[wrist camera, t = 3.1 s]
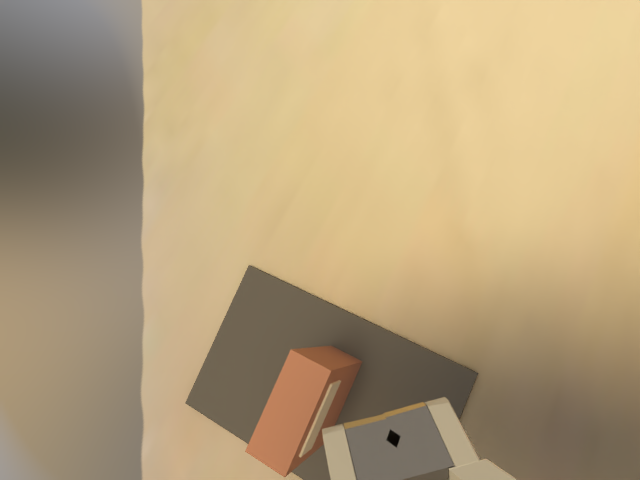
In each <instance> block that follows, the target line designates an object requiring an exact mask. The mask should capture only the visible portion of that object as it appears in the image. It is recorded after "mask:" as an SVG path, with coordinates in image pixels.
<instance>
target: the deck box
mask: <svg viewBox="0 0 640 480" xmlns="http://www.w3.org/2000/svg"><path fill="white" fill-rule="evenodd" d="M362 362H363V361H361V360H359V359H357V358H355V357H353V356H351V355H349V354H347V353H345V352H343V351H341V350H339V349H337V348H335V347H333V346H321V347H310V348H300V349H291V350H290V352H289V354H288V357H287V359H286V361H285V363H284V366H283V368H282V370H281V372H280V375H279V377H278V379H277V381H276V384H275V386H274V388H273V390H272V393H271V395H270V397H269V399H268V402H267V404H266V406H265V408H264V410H263V413H262V415H261V417H260V419H259V422H258V424H257V426H256V428H255V431H254V433H253V435H252V437H251V440H250V442H249V444H248V446H247V449H246V451H245V452H247V453H248V454H250V455H252V456H253V457H255V458H256V459H258V460H259V461H261V462H262V463H264V464H265V465H267V466H268V467H270V468H271V469H273V470H274V471H276V472H277V473H279V474H280V475H282V476H283V477H286V476H287V475H288V474H289V473H290V472H292V471H293V470H294V469H295V468H296V467H298V466H299V465H300V464H301V463H302V462H303V461H305V460H306V459H307V458H308V457H309V456H310V455H312V454H313V453H314V452H315V451H316V450H317V449H319V448H320V447H321V446H322V445H323V444H324V441H323V435H322V429H324V428H328V427H331V426H335V424H336V422H337V419H338V417H339V415H340V412H341V410H342V408H343V406H344V403H345V401H346V399H347V396H348V394H349V392H350V389H351V387H352V385H353V382H354V380H355V378H356V375H357V373H358V371H359V369H360V366H361V364H362Z"/></svg>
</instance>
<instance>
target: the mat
mask: <svg viewBox="0 0 640 480" xmlns="http://www.w3.org/2000/svg"><path fill="white" fill-rule="evenodd" d="M321 346H333V347H335V348H337V349H339V350H341V351H343V352H345V353H347V354H349V355H351V356H353V357H355V358H357V359H359V360H361V361H363V362H362V364H361V366H360V369H359V371H358V373H357V375H356V378H355V380H354V382H353V385H352V387H351V389H350V392H349V394H348V396H347V399H346V401H345V403H344V406H343V408H342V410H341V412H340V415H339V417H338V419H337V422H336V424H335V425H339V424H343V426H344V423H348V422H352V421H356V420H360V419H364V418H369V417H373V416H377V415H381V414H384V413H385V412H389V411H393V410H396V409H400V408H403V407H407V406H410V405H414V404H418V403H421V402H428V401H431V400H435V399H438V398H442V397H445V398H447V399H448V400H449V402H450V404H451V406H452V408H453V410H454V412H455V413H456V415H457V417H458V419H460V416H461V414H462V411H463V409H464V406H465V404H466V402H467V399H468V397H469V394H470V392H471V389H472V387H473V385H474V382H475V380H476V377H477V375H478V373H476V372H474V371H472V370H470V369H468V368H466V367H464V366H462V365H460V364H457V363H455V362H453V361H451V360H449V359H447V358H445V357H443V356H440V355H438V354H436V353H434V352H432V351H430V350H428V349H426V348H423V347H421V346H419V345H417V344H415V343H413V342H411V341H409V340H407V339H404V338H402V337H400V336H398V335H396V334H394V333H392V332H390V331H387V330H385V329H383V328H381V327H379V326H377V325H375V324H373V323H371V322H368V321H366V320H364V319H362V318H360V317H358V316H356V315H354V314H351V313H349V312H347V311H345V310H343V309H341V308H339V307H337V306H334V305H332V304H330V303H328V302H326V301H324V300H322V299H320V298H318V297H315V296H313V295H311V294H309V293H307V292H305V291H303V290H301V289H298V288H296V287H294V286H292V285H290V284H288V283H286V282H284V281H282V280H279V279H277V278H275V277H273V276H271V275H269V274H267V273H265V272H262V271H260V270H258V269H256V268H254V267H252V266H248V268H247V270H246V273H245V275H244V277H243V279H242V281H241V283H240V286H239V288H238V290H237V292H236V294H235V297H234V299H233V301H232V303H231V305H230V307H229V310H228V312H227V314H226V316H225V318H224V320H223V323H222V325H221V327H220V329H219V331H218V333H217V336H216V338H215V340H214V342H213V344H212V346H211V349H210V351H209V353H208V355H207V357H206V359H205V362H204V364H203V366H202V368H201V370H200V373H199V375H198V377H197V379H196V381H195V383H194V386H193V388H192V390H191V392H190V394H189V396H188V399H187V401H186V404H188V405H189V406H191V407H192V408H194V409H195V410H197V411H198V412H200V413H201V414H203V415H205V416H206V417H208V418H209V419H211V420H212V421H214V422H215V423H217V424H218V425H220V426H222V427H223V428H225V429H226V430H228V431H229V432H231V433H232V434H234V435H235V436H237V437H239V438H240V439H242V440H243V441H245V442H246V443H248V444H249V442H250V440H251V437H252V435H253V433H254V431H255V428H256V426H257V424H258V422H259V419H260V417H261V415H262V413H263V410H264V408H265V406H266V404H267V402H268V399H269V397H270V395H271V393H272V390H273V388H274V386H275V384H276V381H277V379H278V377H279V375H280V372H281V370H282V368H283V366H284V363H285V361H286V359H287V357H288V354H289V352H290V350H291V349H300V348H310V347H321ZM344 430H345V428H344ZM345 434H346V433H345ZM346 438H347V437H346ZM347 442H348V441H347ZM348 446H349V445H348ZM349 450H350V449H349ZM350 454H351V453H350ZM292 472H293V473H294V474H296V475H297V476H299V477H300V478H302V479H303V480H331V479H330V473H329V468H328V463H327V457H326V452H325V447H324V444H323V445H322V446H321V447H320V448H319V449H317V450H316V451H315V452H314V453H313V454H312V455H310V456H309V457H308V458H307V459H306V460H305V461H303V462H302V463H301V464H300V465H299V466H298V467H296V468H295V469H294V470H293V471H292Z"/></svg>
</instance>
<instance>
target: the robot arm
mask: <svg viewBox="0 0 640 480" xmlns="http://www.w3.org/2000/svg"><path fill="white" fill-rule="evenodd" d="M344 428H345V430H344ZM345 433H346V434H345ZM322 435H323V441H324V447H325V452H326V457H327V463H328V468H329V473H330V479H331V480H517V479H516V478H514V477H513V476H511V475H510V474H508V473H507V472H506V471H504V470H503V469H501V468H500V467H498V466H497V465H495V464H494V463H492V462H491V461H489V460H488V459H487V458H486V459H482V460H480V459H479V457H478V455H477V453H476V451H475V449H474V448H473V446H472V444H471V442H470V440H469V438H468V436H467V434H466V432H465V430H464V429H463V427H462V425H461V423H460V421H459V419H458V417H457V415H456V413H455V412H454V410H453V408H452V406H451V404H450V402H449V400H448V399H447V398H445V397H442V398H438V399H435V400H431V401H428V402H421V403H418V404H414V405H410V406H407V407H403V408H400V409H396V410H393V411H389V412H385V413H384V414H381V415H377V416H373V417H369V418H364V419H360V420H356V421H352V422H348V423H344V426H343V424H339V425H335V426H331V427H328V428H324V429H322ZM346 437H347V438H346ZM347 441H348V442H347ZM348 445H349V446H348ZM349 449H350V450H349ZM350 453H351V454H350Z"/></svg>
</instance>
